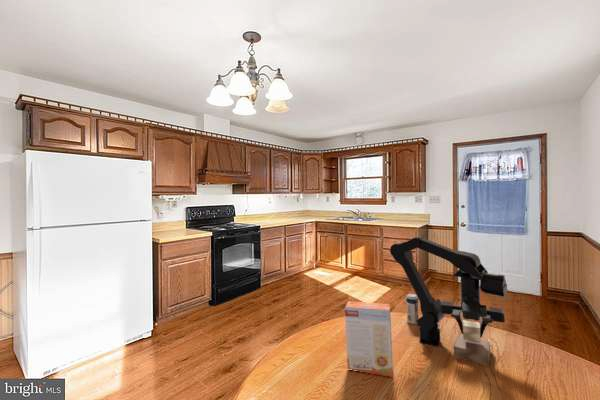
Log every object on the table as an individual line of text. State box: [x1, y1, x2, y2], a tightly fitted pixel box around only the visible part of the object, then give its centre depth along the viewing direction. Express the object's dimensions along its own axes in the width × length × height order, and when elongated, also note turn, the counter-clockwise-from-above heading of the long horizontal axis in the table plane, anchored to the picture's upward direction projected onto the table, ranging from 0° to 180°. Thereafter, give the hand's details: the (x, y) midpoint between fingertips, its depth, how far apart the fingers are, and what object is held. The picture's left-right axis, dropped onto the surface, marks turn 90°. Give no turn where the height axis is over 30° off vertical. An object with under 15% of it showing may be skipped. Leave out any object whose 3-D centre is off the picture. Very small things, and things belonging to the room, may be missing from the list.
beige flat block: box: [453, 334, 491, 367], centre depth 99 cm, size 10×10×4 cm
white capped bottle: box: [405, 293, 420, 325], centre depth 126 cm, size 5×5×12 cm
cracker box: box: [344, 300, 394, 378], centre depth 93 cm, size 14×6×21 cm, turn 71°
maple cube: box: [462, 319, 482, 343], centre depth 99 cm, size 5×5×5 cm
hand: (471, 335), depth 99 cm, fingers closed on maple cube, 5 cm apart
